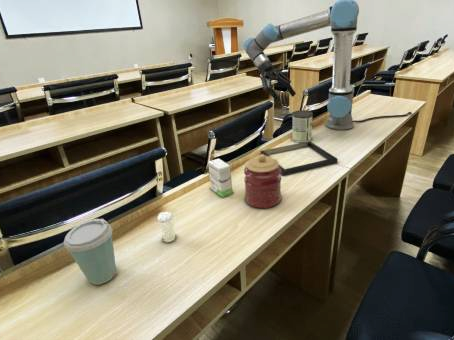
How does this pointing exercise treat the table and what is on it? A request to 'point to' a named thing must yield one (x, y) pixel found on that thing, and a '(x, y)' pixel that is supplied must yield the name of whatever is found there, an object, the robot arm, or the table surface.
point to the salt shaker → (166, 226)
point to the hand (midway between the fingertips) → (286, 97)
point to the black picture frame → (296, 169)
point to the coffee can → (302, 126)
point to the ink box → (220, 177)
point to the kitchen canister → (262, 182)
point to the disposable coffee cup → (93, 250)
